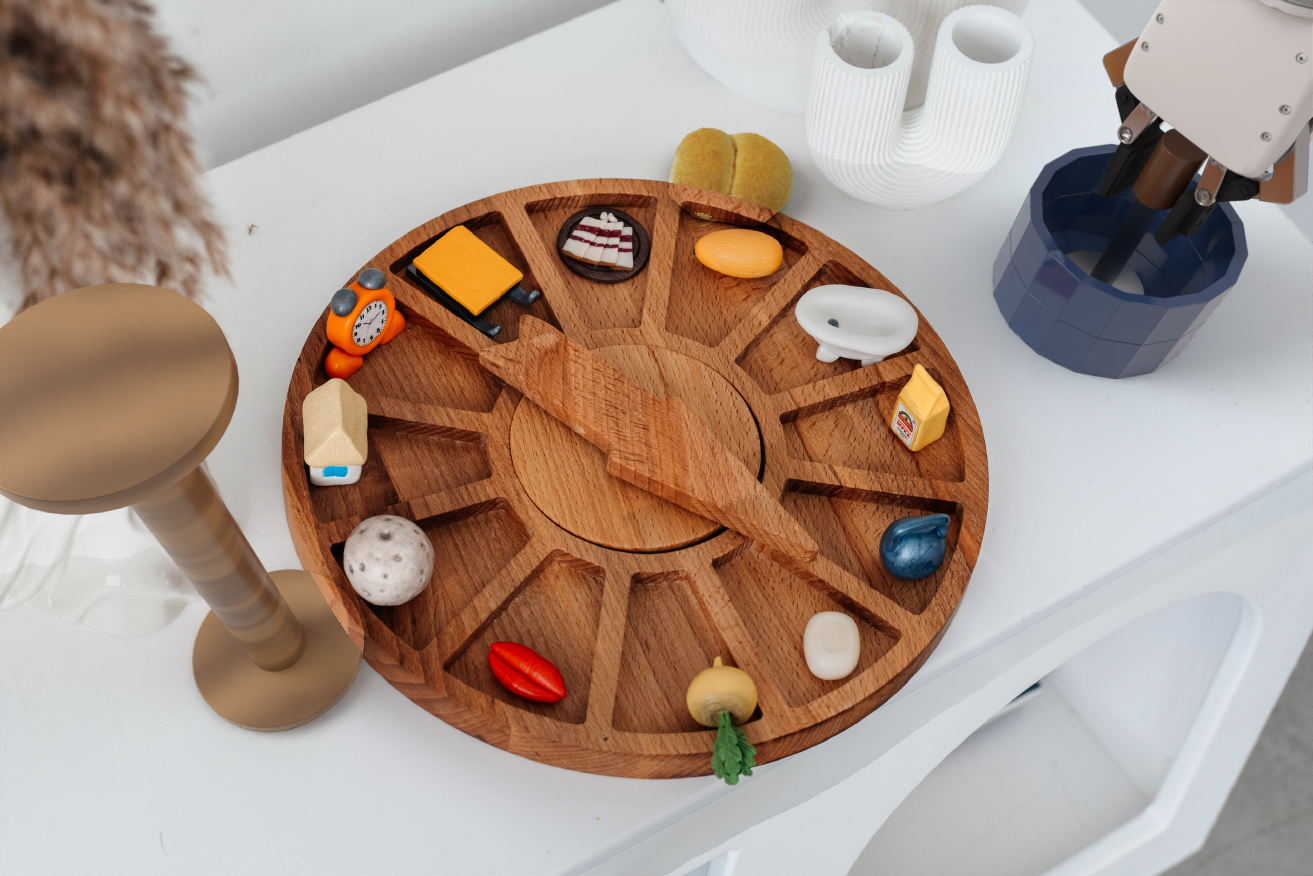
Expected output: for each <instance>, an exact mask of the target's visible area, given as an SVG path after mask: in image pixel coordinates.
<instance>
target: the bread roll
mask: <svg viewBox="0 0 1313 876" xmlns="http://www.w3.org/2000/svg"><path fill="white" fill-rule="evenodd" d="M668 182H669V183H675V184H680V185H686V186H691V187H696V188H700V189H704V190H710V191H713V192H719V193H722V194H727V195H732V196H734V197H736V198H740V199H742V200H745V201H748V202H750V203H754V204H758V205H761V206H763V207H766V208H769V209H772V210H774V211H777V212H779V213H780V212H781V211H782V210H783V209H785V207H786V206H787V205H788V203H789V201H790V199H791V198H792V195H793V189H794V171H793V167H792V165H791V161H790V159H789V157H788V156H787V154H786V152H785V151H783V149H782V148H781V147H779V146H778V145H777V144H776V143H774V142H773V141H771V140H770V139H769V138H766V137H765V136H763V135H761V134H759V133H755V132H738V133H732V134H728V133H726V132H725V131H723V130H721V129H718V128H715V127H701V128H697V129H696V130H693V131H692V132H689V133H687V134H686V135H685V136H684V137H683V139H682V140H681V142H680V143H679V144H678V146H677V147H676V148H675V151H674V155H673V159H672V162H671V165H670V171H669V176H668V179H667V183H668ZM695 214H697V216H700V217H703V218H705V219H708V218H711V217H712V216H709V215H708V214H704V213H703V212H702V213H699V212H698V213H696V212H695Z"/></svg>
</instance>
